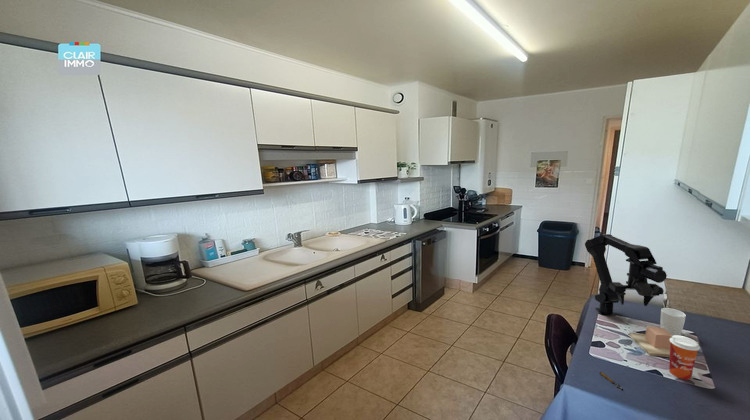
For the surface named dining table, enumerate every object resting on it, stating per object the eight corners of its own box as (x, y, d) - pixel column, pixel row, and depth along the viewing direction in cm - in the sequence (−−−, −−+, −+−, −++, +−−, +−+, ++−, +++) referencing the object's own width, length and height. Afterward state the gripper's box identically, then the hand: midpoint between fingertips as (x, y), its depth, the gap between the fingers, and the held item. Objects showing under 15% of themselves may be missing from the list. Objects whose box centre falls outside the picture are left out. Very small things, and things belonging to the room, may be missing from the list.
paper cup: (670, 377, 109) (674, 344, 106) (662, 364, 115) (666, 332, 113) (699, 384, 105) (705, 349, 103) (689, 370, 112) (694, 337, 109)
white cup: (688, 337, 131) (691, 316, 129) (669, 337, 131) (672, 317, 129) (670, 327, 138) (673, 307, 136) (653, 327, 139) (656, 308, 137)
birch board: (628, 335, 134) (629, 332, 134) (665, 337, 131) (665, 335, 131) (649, 355, 121) (649, 352, 120) (690, 358, 118) (691, 356, 117)
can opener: (599, 374, 113) (599, 371, 113) (604, 373, 113) (605, 370, 113) (620, 392, 104) (620, 390, 104) (626, 392, 104) (626, 389, 104)
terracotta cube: (645, 338, 129) (646, 326, 128) (661, 340, 128) (662, 327, 127) (654, 347, 123) (656, 334, 122) (671, 348, 122) (673, 335, 121)
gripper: (623, 280, 128) (620, 312, 131) (675, 281, 124) (670, 315, 127) (609, 270, 139) (606, 300, 142) (656, 271, 135) (652, 303, 138)
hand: (633, 305), depth 137 cm, fingers open, 9 cm apart
